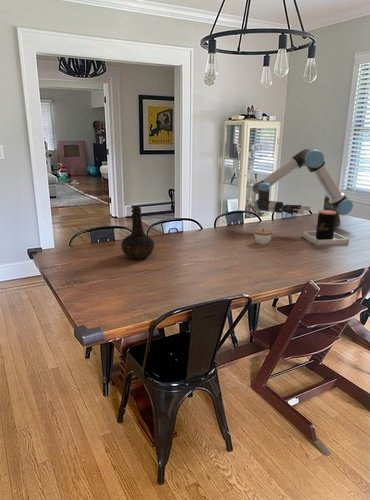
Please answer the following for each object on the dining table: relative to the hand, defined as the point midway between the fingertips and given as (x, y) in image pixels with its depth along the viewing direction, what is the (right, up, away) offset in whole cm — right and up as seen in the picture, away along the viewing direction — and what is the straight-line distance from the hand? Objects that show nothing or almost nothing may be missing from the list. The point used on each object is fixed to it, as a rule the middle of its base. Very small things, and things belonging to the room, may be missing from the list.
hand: (306, 210), depth 246 cm
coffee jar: (+10, -19, -4) cm, 22 cm away
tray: (+10, -20, -4) cm, 23 cm away
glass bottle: (-106, -30, -38) cm, 117 cm away
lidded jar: (-32, -22, -11) cm, 40 cm away
